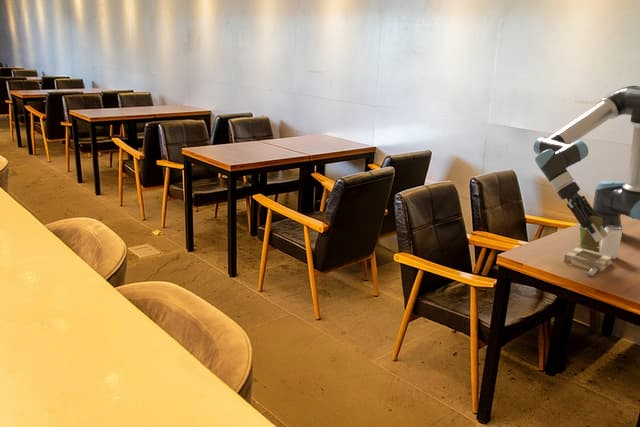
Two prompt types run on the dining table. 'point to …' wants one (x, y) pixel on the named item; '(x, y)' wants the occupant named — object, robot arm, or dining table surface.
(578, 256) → the birch socket block
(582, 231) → the plant pot
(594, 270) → the steel rod
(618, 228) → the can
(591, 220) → the olive rounded piece
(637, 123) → the robot arm
